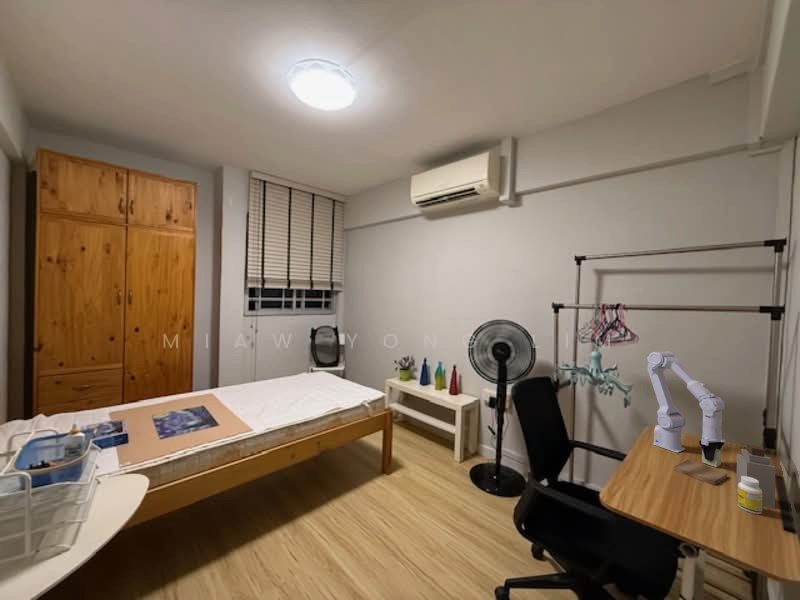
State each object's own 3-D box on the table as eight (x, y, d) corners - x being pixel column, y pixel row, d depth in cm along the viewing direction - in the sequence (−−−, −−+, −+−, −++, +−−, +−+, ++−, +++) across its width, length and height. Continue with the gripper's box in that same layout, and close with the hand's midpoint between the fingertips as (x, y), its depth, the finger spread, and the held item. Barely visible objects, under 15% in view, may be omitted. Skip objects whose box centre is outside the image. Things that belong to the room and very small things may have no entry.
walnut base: (674, 470, 129) (674, 466, 129) (687, 463, 135) (687, 459, 135) (714, 485, 118) (714, 481, 118) (727, 477, 124) (727, 473, 124)
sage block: (701, 462, 135) (702, 447, 135) (706, 459, 137) (706, 445, 137) (716, 467, 131) (716, 452, 131) (720, 464, 133) (721, 450, 133)
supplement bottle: (736, 501, 109) (736, 472, 109) (760, 508, 105) (760, 478, 105) (739, 509, 104) (739, 479, 104) (764, 517, 101) (764, 485, 101)
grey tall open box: (736, 491, 115) (737, 441, 115) (762, 497, 112) (763, 445, 112) (746, 502, 108) (747, 449, 108) (774, 508, 105) (775, 453, 106)
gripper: (718, 433, 127) (717, 467, 127) (731, 426, 134) (731, 459, 134) (695, 426, 133) (694, 459, 133) (709, 420, 140) (708, 452, 140)
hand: (711, 458), depth 134 cm, fingers closed on sage block, 4 cm apart
